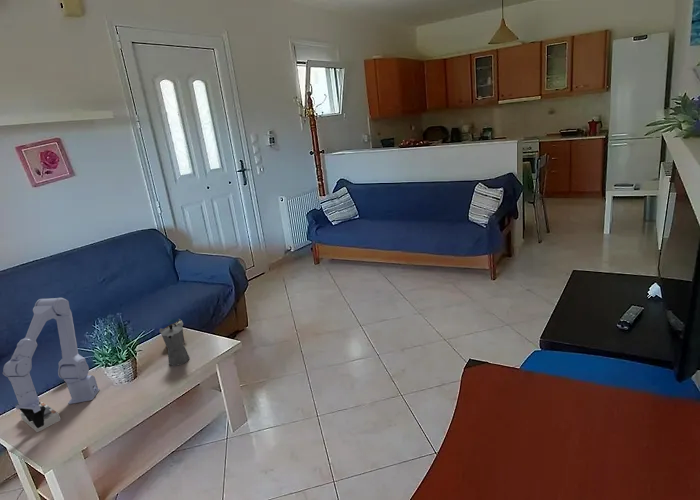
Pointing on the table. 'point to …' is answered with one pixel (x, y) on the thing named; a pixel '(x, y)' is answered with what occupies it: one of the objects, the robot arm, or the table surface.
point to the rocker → (47, 412)
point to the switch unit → (48, 419)
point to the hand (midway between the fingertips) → (36, 423)
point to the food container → (178, 324)
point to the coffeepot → (175, 345)
